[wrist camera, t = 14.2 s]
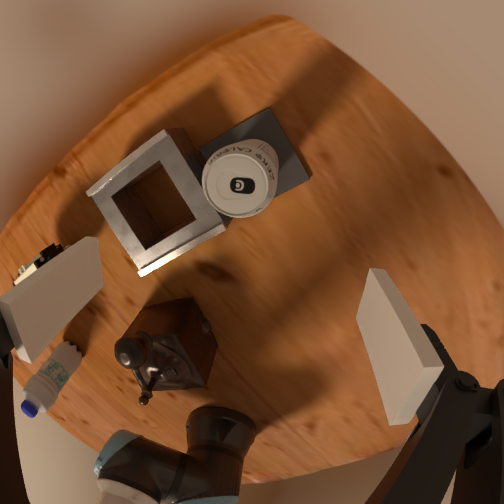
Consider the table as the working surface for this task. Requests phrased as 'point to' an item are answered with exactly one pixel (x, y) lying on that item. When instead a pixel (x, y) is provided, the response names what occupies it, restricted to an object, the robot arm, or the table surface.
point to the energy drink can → (241, 178)
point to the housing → (135, 213)
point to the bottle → (50, 379)
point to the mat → (271, 133)
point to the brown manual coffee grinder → (168, 347)
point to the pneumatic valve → (39, 261)
